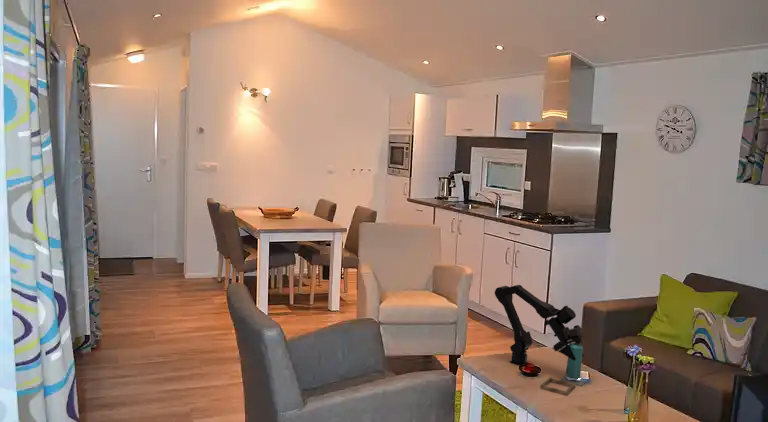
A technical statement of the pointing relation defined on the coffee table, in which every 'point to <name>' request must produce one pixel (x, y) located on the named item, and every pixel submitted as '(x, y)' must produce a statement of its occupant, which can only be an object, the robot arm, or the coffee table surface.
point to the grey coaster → (573, 381)
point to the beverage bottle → (572, 365)
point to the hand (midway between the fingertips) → (579, 358)
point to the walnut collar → (571, 385)
